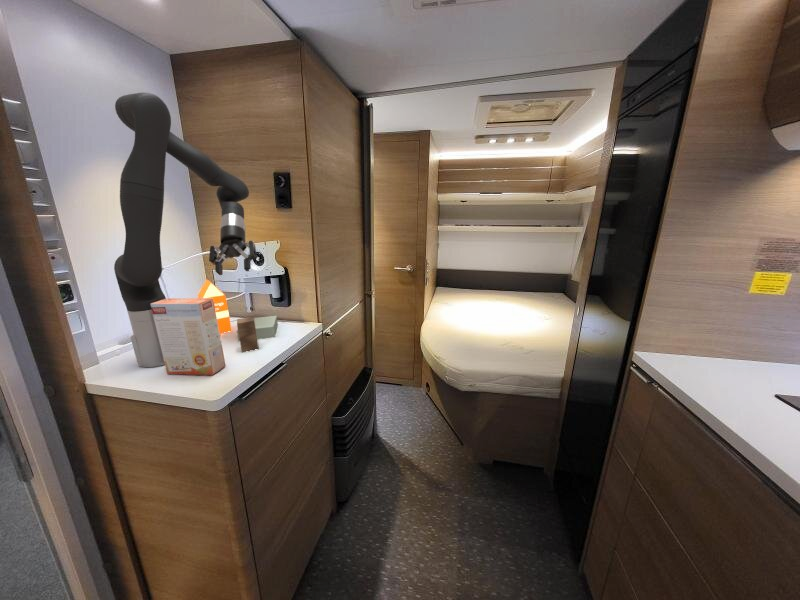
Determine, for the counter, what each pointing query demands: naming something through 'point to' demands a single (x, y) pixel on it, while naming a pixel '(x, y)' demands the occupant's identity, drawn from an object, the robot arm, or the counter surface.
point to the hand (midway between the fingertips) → (233, 272)
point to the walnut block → (247, 334)
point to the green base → (265, 327)
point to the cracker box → (189, 335)
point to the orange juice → (217, 305)
